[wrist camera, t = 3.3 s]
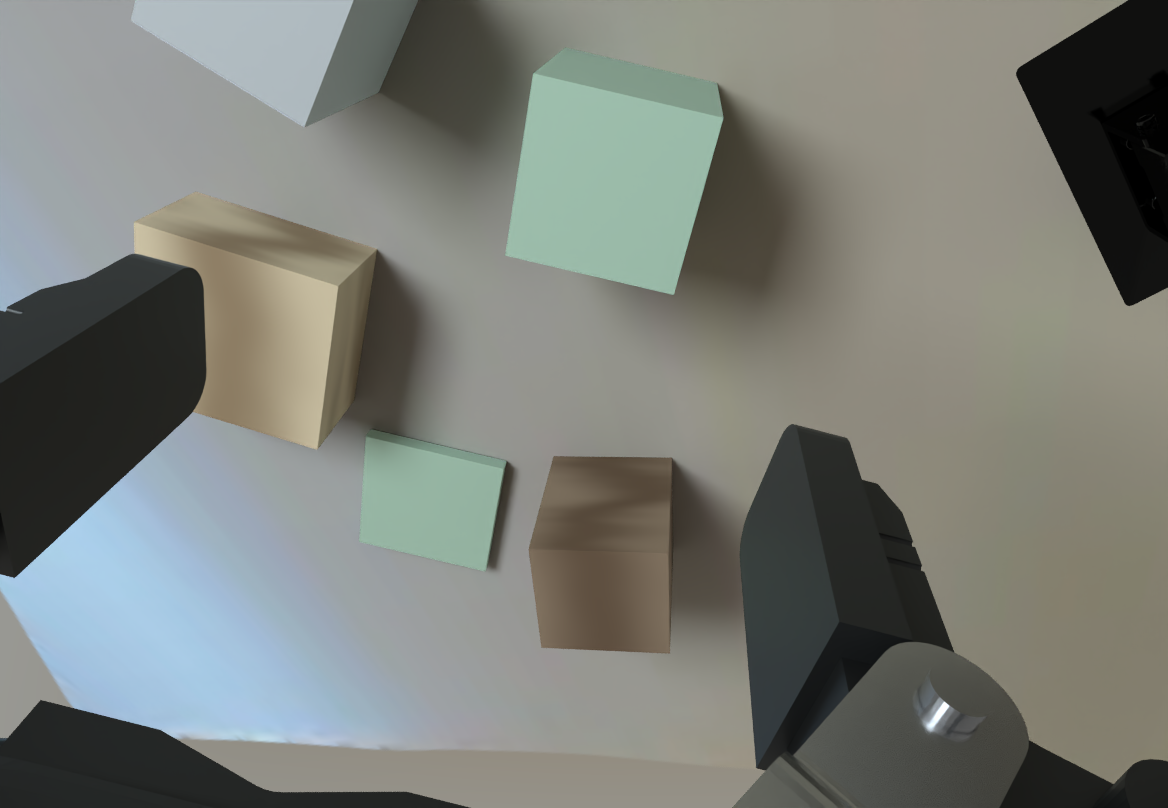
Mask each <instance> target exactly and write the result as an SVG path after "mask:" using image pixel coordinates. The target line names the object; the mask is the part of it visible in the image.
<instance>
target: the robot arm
mask: <svg viewBox="0 0 1168 808" xmlns="http://www.w3.org/2000/svg"><path fill="white" fill-rule="evenodd" d="M206 371H207V368H206V339H205V310H204V288H203V282H202V279H201V276H200V274H199V273H198V272H197V271H196V270H195V269H193V268H191V267H187V266H183V265H179V264H175V263H171V262H168V261H164V260H160V259H156V258H152V257H148V256H144V255H140V254H131V255H128V256H126V257H124V258H122V259H120V260H119V261H117V262H115V263H113V264H111V265H109V266H108V267H106V268H104V269H102V270H100V271H98V272H97V273H95V274H93V275H91V276H89V277H87V278H85V279H81V280H77V281H73V282H69V283H65V284H61V285H57V286H53V287H49V288H45V289H41V290H39V291H37V292H35V293H33V294H31V295H29V296H27V297H25V298H23V299H22V300H20V301H18V302H16V303H14V304H12V305H10V306H8V307H7V310H6V312H3V311H0V574H2V575H6V576H10V577H13V578H15V577H16V576H17V575H18V574H19V573H21V572H22V571H23V570H24V569H25V568H26V567H27V566H28V565H29V564H30V563H31V562H32V561H33V560H35V559H36V558H37V557H38V556H39V555H40V554H41V553H42V552H43V551H44V550H45V549H46V548H47V547H49V546H50V545H51V544H52V543H53V542H54V541H55V540H56V539H57V538H58V537H59V536H60V535H61V534H63V533H64V532H65V531H66V530H67V529H68V528H69V527H70V526H71V525H72V524H73V523H74V522H75V521H77V520H78V519H79V518H80V517H81V516H82V515H83V514H84V513H85V512H86V511H87V510H88V509H89V508H91V507H92V506H93V505H94V504H95V503H96V502H97V501H98V500H99V499H100V498H101V497H102V496H103V495H105V494H106V493H107V492H108V491H109V490H110V489H111V488H112V487H113V486H114V485H115V484H116V483H117V482H119V481H120V480H121V479H122V478H123V477H124V476H125V475H126V474H127V473H128V472H129V471H130V470H131V469H133V468H134V467H135V466H136V465H137V464H138V463H139V462H140V461H141V460H142V459H143V458H144V457H145V456H147V455H148V454H149V453H150V452H151V451H152V450H153V449H154V448H155V447H156V446H157V445H158V444H159V443H161V442H162V441H163V440H164V439H165V438H166V437H167V436H168V435H169V434H170V433H171V432H172V431H173V430H175V429H176V428H177V427H178V426H179V425H180V424H181V423H182V422H183V421H184V420H185V419H186V418H187V417H188V416H189V415H190V414H191V413H192V412H193V411H194V409H195V408H196V406H197V404H198V402H199V400H200V398H201V396H202V393H203V390H204V386H205V382H206ZM912 542H913V540H912V538H911V535H910V532H909V530H908V527H907V524H906V522H905V519H904V516H903V514H902V512H901V511H900V509H899V508H898V507H897V506H896V505H895V504H894V502H893V501H892V500H891V499H890V498H889V497H888V496H887V494H886V493H885V492H884V491H883V490H882V489H881V487H880V486H879V485H878V484H876V483H872V482H868V481H864V480H862V479H861V476H860V473H859V470H858V467H857V463H856V460H855V457H854V454H853V451H852V448H851V445H850V442H849V440H848V439H847V438H845V437H841V436H837V435H833V434H829V433H825V432H821V431H818V430H814V429H810V428H806V427H802V426H798V425H794V424H791V425H789V426H788V427H787V428H786V430H785V431H784V433H783V434H782V436H781V438H780V441H779V443H778V445H777V447H776V450H775V452H774V454H773V457H772V459H771V461H770V464H769V466H768V468H767V471H766V473H765V475H764V477H763V480H762V482H761V484H760V487H759V489H758V491H757V494H756V496H755V498H754V501H753V503H752V505H751V507H750V510H749V512H748V515H747V518H746V521H745V524H744V528H743V532H742V538H741V544H740V567H741V579H742V592H743V605H744V617H745V630H746V643H747V655H748V668H749V681H750V693H751V706H752V718H753V731H754V744H755V756H756V768H758V769H762V770H766V771H765V772H764V773H763V774H762V776H760V778H759V779H758V780H757V781H756V782H755V783H754V784H753V785H752V787H751V788H750V789H749V790H748V791H747V792H746V793H745V794H744V795H743V796H742V797H741V798H740V800H739V801H738V802H737V803H736V804H735V805H734V806H733V807H732V808H1168V762H1167V761H1163V760H1153V759H1149V760H1142V761H1139V762H1137V763H1135V764H1133V765H1132V766H1131V767H1130V768H1129V769H1128V770H1127V771H1126V772H1125V773H1124V774H1123V775H1122V776H1121V777H1120V778H1119V779H1118V780H1117V782H1116V783H1115V784H1112V783H1110V782H1108V781H1106V780H1104V779H1102V778H1100V777H1098V776H1096V775H1094V774H1092V773H1091V772H1089V771H1087V770H1085V769H1083V768H1081V767H1079V766H1077V765H1075V764H1073V763H1071V762H1069V761H1067V760H1065V759H1063V758H1061V757H1059V756H1057V755H1055V754H1053V753H1051V752H1050V751H1048V750H1046V749H1044V748H1042V747H1040V746H1038V745H1037V744H1035V743H1033V742H1031V741H1029V737H1028V732H1027V727H1026V725H1025V722H1024V719H1023V717H1022V715H1021V713H1020V712H1019V710H1018V708H1017V706H1016V705H1015V703H1014V702H1013V701H1012V699H1011V698H1010V697H1009V695H1008V694H1007V693H1006V692H1005V691H1004V690H1003V688H1002V687H1001V686H1000V685H999V684H998V683H997V682H996V681H995V680H994V679H992V678H991V677H990V676H989V675H988V674H987V673H986V672H984V671H983V670H982V669H980V668H979V667H978V666H976V665H975V664H973V663H972V662H970V661H969V660H967V659H965V658H964V657H962V656H960V655H958V654H956V653H954V650H953V647H952V645H951V642H950V639H949V637H948V634H947V631H946V629H945V626H944V623H943V621H942V618H941V615H940V613H939V610H938V607H937V605H936V602H935V599H934V597H933V594H932V591H931V589H930V586H929V583H928V581H927V578H926V575H925V573H924V572H923V571H921V566H922V564H921V562H920V559H919V556H918V554H917V551H916V548H915V547H912ZM0 808H469V807H465V806H461V805H457V804H453V803H449V802H445V801H441V800H437V799H433V798H429V797H425V796H421V795H417V794H413V793H409V792H298V793H297V792H291V793H290V792H284V793H283V792H272V791H269V790H264V789H262V788H260V787H258V786H256V785H254V784H252V783H251V782H249V781H247V780H245V779H244V778H242V777H240V776H239V775H237V774H235V773H233V772H232V771H230V770H228V769H227V768H225V767H223V766H221V765H220V764H218V763H216V762H214V761H213V760H211V759H209V758H207V757H206V756H204V755H202V754H201V753H199V752H197V751H196V750H194V749H192V748H190V747H189V746H187V745H185V744H183V743H181V742H180V741H178V740H177V739H175V738H173V737H171V736H170V735H168V734H166V733H164V732H163V731H161V730H158V729H154V728H150V727H146V726H142V725H138V724H134V723H130V722H126V721H122V720H118V719H114V718H110V717H106V716H102V715H98V714H94V713H90V712H86V711H82V710H78V709H74V708H70V707H66V706H62V705H58V704H54V703H50V702H46V701H42V700H40V702H39V703H38V704H37V705H36V706H35V707H34V709H33V710H32V711H31V712H30V713H29V714H28V715H27V717H26V718H25V719H24V720H23V721H22V722H21V724H20V725H19V726H18V727H17V728H16V729H15V730H14V732H13V733H12V734H11V735H10V736H9V738H0Z"/></svg>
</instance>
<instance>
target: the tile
mask: <svg viewBox="0 0 1168 808" xmlns="http://www.w3.org/2000/svg"><path fill="white" fill-rule="evenodd" d="M506 462H507V461H505V460H500V459H496V458H492V457H488V456H483V455H479V454H475V453H471V452H466V451H462V450H458V449H454V448H449V447H445V446H441V445H436V444H432V443H428V442H424V441H419V440H415V439H411V438H407V437H402V436H398V435H394V434H390V433H385V432H381V431H377V430H372V429H371V430H370V431H369V433H368V434H367V436H366V442H365V458H364V474H363V490H362V506H361V522H360V539H359V542H362V543H366V544H371V545H375V546H379V547H383V548H388V549H392V550H396V551H400V552H405V553H409V554H413V555H417V556H422V557H426V558H430V559H434V560H439V561H443V562H447V563H452V564H456V565H460V566H464V567H469V568H473V569H477V570H481V571H486V568H487V565H488V562H489V556H490V550H491V545H492V539H493V534H494V528H495V523H496V517H497V512H498V506H499V500H500V495H501V489H502V484H503V478H504V473H505V467H506Z"/></svg>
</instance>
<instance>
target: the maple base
mask: <svg viewBox="0 0 1168 808" xmlns="http://www.w3.org/2000/svg"><path fill="white" fill-rule="evenodd" d="M134 243H135V254H140V255H144V256H148V257H152V258H156V259H160V260H164V261H168V262H171V263H175V264H179V265H183V266H187V267H191V268H193V269H195V270H196V271H197V272H198V273H199V274H200V276H201V279H202V282H203V288H204V310H205V339H206V368H207V371H206V382H205V386H204V390H203V393H202V396H201V398H200V400H199V402H198V404H197V406H196V408H195V409H194V411H193V412H195V413H199V414H202V415H205V416H208V417H212V418H215V419H218V420H221V421H225V422H228V423H231V424H235V425H238V426H241V427H244V428H248V429H251V430H254V431H258V432H261V433H264V434H267V435H271V436H274V437H277V438H281V439H284V440H287V441H290V442H294V443H297V444H300V445H303V446H307V447H310V448H313V449H317V450H318V448H319V447H320V446H321V444H322V443H323V442H324V440H325V439H326V438H327V436H328V435H329V434H330V432H331V431H332V429H333V428H334V427H335V425H336V424H337V423H338V421H339V420H340V419H341V417H342V416H343V415H344V413H345V412H346V411H347V409H348V408H349V407H350V405H351V404H352V403H353V401H354V398H355V392H356V385H357V379H358V372H359V366H360V359H361V352H362V346H363V339H364V333H365V326H366V319H367V313H368V306H369V300H370V293H371V286H372V280H373V273H374V267H375V260H376V254H377V249H375V248H372V247H369V246H366V245H363V244H359V243H356V242H353V241H350V240H347V239H344V238H340V237H337V236H334V235H331V234H328V233H325V232H321V231H318V230H315V229H312V228H309V227H306V226H303V225H299V224H296V223H293V222H290V221H287V220H284V219H280V218H277V217H274V216H271V215H268V214H265V213H261V212H258V211H255V210H252V209H249V208H246V207H242V206H239V205H236V204H233V203H230V202H227V201H223V200H220V199H217V198H214V197H211V196H208V195H205V194H201V193H198V192H194V193H192V194H190V195H188V196H186V197H184V198H182V199H180V200H178V201H176V202H174V203H172V204H170V205H168V206H166V207H164V208H162V209H160V210H158V211H156V212H153V213H151V214H149V215H147V216H145V217H143V218H141V219H139V220H137V221H135V222H134Z"/></svg>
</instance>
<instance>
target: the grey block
mask: <svg viewBox="0 0 1168 808" xmlns="http://www.w3.org/2000/svg"><path fill="white" fill-rule="evenodd" d="M417 2H418V0H135V4H134V8H133V13H132V17H131V21H132V22H133V23H135V24H137V25H138V26H140V27H142V28H143V29H145V30H146V31H148V32H150V33H151V34H153V35H155V36H156V37H158V38H159V39H161V40H163V41H164V42H166V43H168V44H169V45H171V46H172V47H174V48H176V49H177V50H179V51H181V52H182V53H184V54H185V55H187V56H189V57H190V58H192V59H194V60H195V61H197V62H198V63H200V64H202V65H203V66H205V67H207V68H208V69H210V70H211V71H213V72H215V73H216V74H218V75H220V76H221V77H223V78H224V79H226V80H228V81H229V82H231V83H233V84H234V85H236V86H237V87H239V88H241V89H242V90H244V91H246V92H247V93H249V94H250V95H252V96H254V97H255V98H257V99H259V100H260V101H262V102H263V103H265V104H267V105H268V106H270V107H272V108H273V109H275V110H276V111H278V112H280V113H281V114H283V115H285V116H286V117H288V118H289V119H291V120H293V121H294V122H296V123H298V124H299V125H301V126H302V127H306V126H308V125H311V124H313V123H315V122H317V121H319V120H321V119H323V118H325V117H328V116H330V115H332V114H334V113H336V112H338V111H340V110H343V109H345V108H347V107H349V106H351V105H353V104H355V103H357V102H360V101H362V100H364V99H366V98H368V97H370V96H372V95H374V94H377V93H379V90H380V88H381V86H382V83H383V81H384V79H385V76H386V74H387V72H388V70H389V67H390V65H391V63H392V60H393V58H394V56H395V53H396V51H397V49H398V46H399V44H400V42H401V39H402V37H403V35H404V32H405V30H406V28H407V25H408V23H409V21H410V19H411V16H412V14H413V12H414V9H415V7H416V5H417Z"/></svg>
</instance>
